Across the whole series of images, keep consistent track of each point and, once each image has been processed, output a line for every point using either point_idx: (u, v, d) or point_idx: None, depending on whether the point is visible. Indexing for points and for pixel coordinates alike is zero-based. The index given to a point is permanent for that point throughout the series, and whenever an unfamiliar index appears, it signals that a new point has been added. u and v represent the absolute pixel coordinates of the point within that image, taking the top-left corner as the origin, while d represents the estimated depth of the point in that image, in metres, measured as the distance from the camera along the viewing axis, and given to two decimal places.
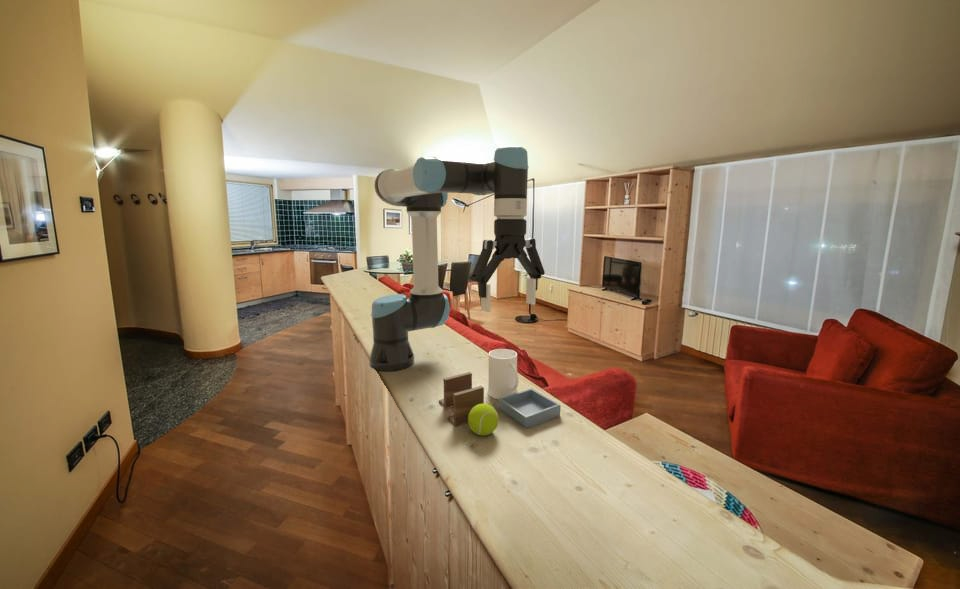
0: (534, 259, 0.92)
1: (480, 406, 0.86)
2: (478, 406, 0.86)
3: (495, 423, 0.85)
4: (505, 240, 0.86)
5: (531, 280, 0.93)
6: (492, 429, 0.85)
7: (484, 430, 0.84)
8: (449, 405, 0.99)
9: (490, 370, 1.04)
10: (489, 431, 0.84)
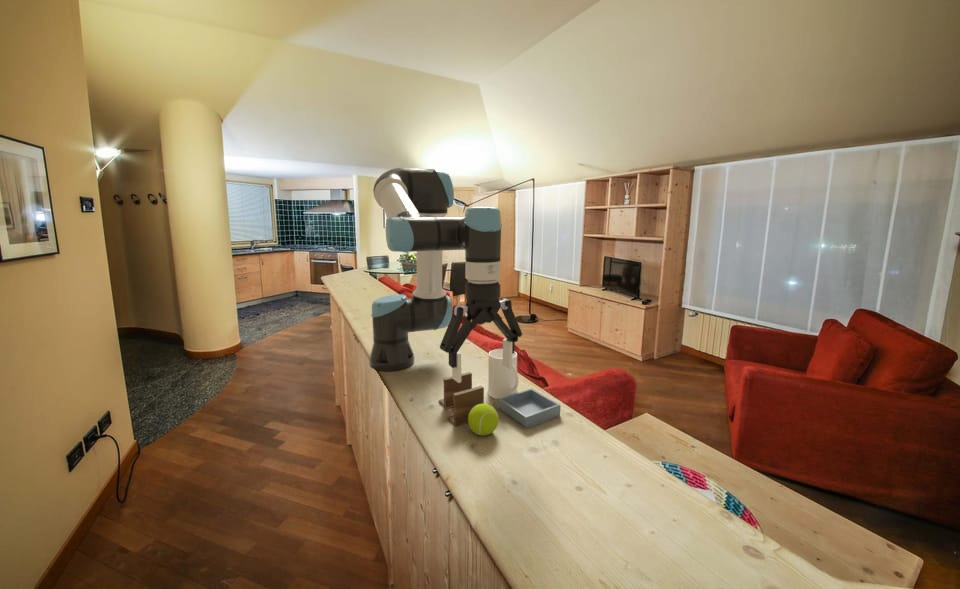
0: (510, 321, 0.86)
1: (480, 406, 0.86)
2: (478, 406, 0.86)
3: (495, 423, 0.85)
4: (477, 305, 0.79)
5: (507, 343, 0.86)
6: (492, 429, 0.85)
7: (484, 430, 0.84)
8: (449, 405, 0.99)
9: (490, 370, 1.04)
10: (489, 431, 0.84)
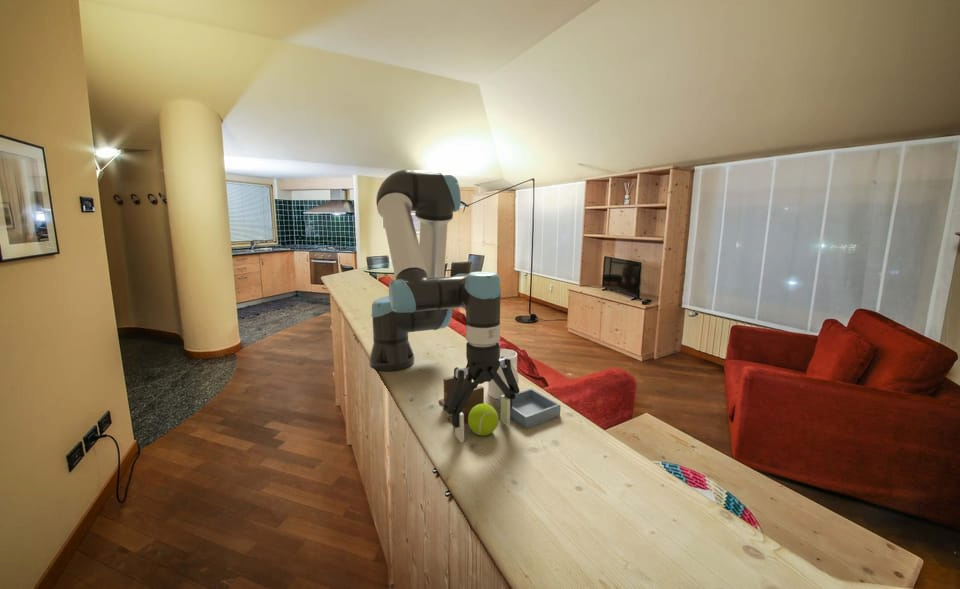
0: (509, 378, 0.88)
1: (480, 406, 0.86)
2: (478, 406, 0.86)
3: (495, 423, 0.85)
4: (477, 366, 0.82)
5: (505, 400, 0.89)
6: (492, 429, 0.85)
7: (484, 430, 0.84)
8: None
9: None
10: (489, 431, 0.84)
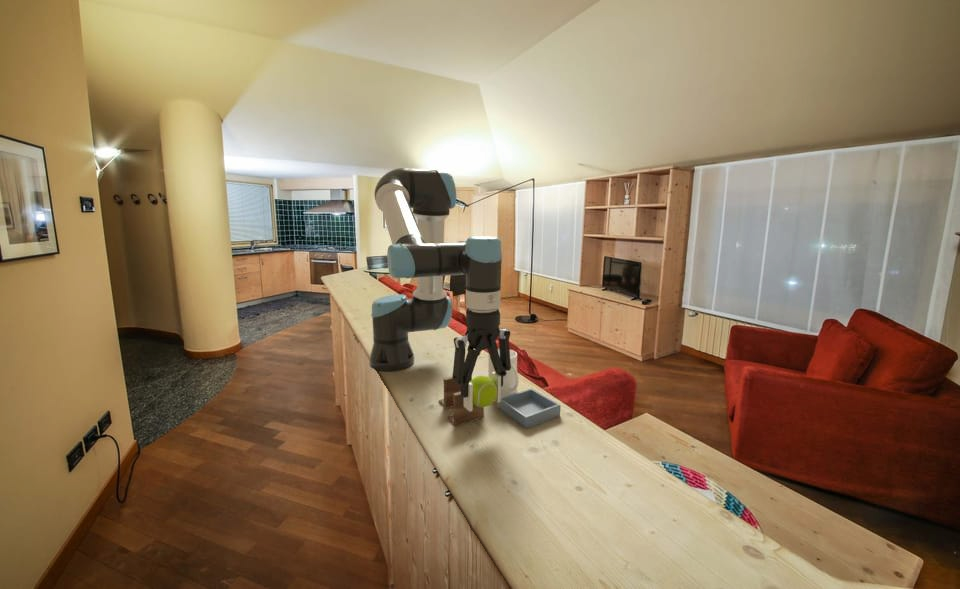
0: (504, 352, 0.86)
1: (479, 378, 0.85)
2: (477, 378, 0.85)
3: (494, 395, 0.84)
4: (476, 332, 0.80)
5: (496, 377, 0.87)
6: (491, 401, 0.84)
7: (483, 402, 0.83)
8: (449, 405, 0.99)
9: (490, 370, 1.04)
10: (488, 403, 0.84)
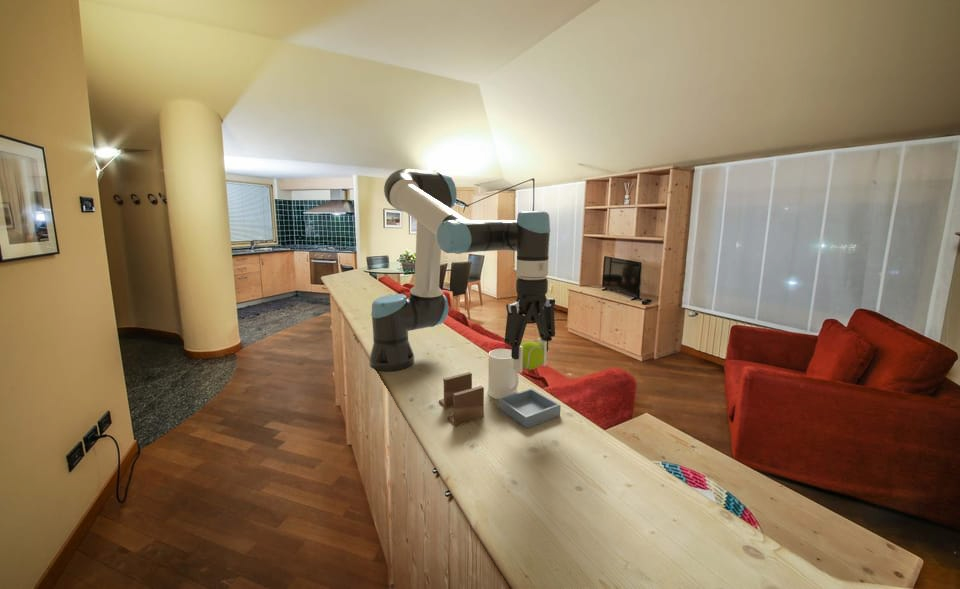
0: (549, 319, 0.94)
1: (528, 342, 0.92)
2: (525, 342, 0.93)
3: (542, 357, 0.92)
4: (526, 298, 0.88)
5: (542, 342, 0.94)
6: (539, 363, 0.91)
7: (532, 363, 0.90)
8: (449, 405, 0.99)
9: (490, 370, 1.04)
10: (536, 364, 0.91)
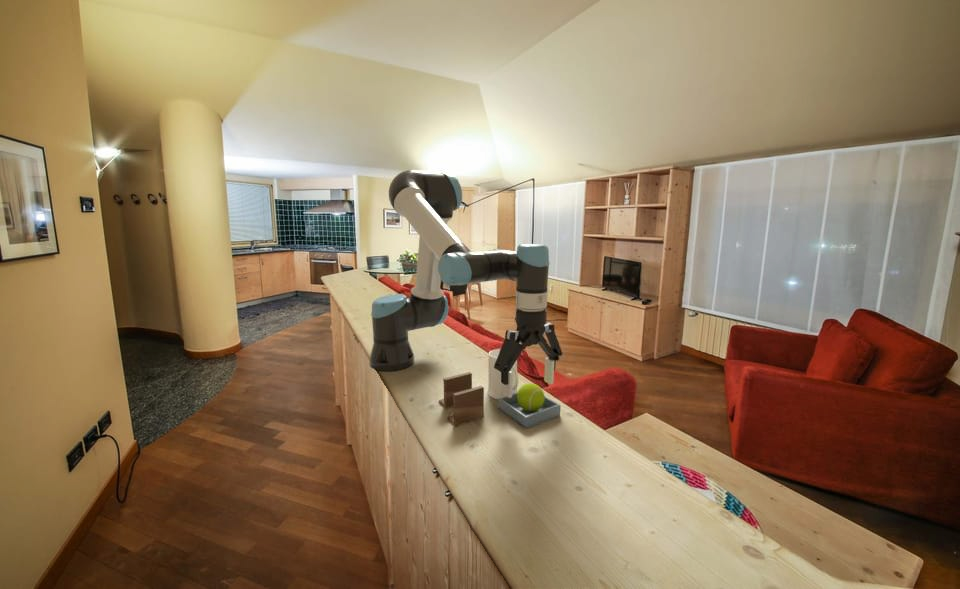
0: (553, 342, 0.96)
1: (529, 385, 0.95)
2: (527, 385, 0.95)
3: (543, 400, 0.94)
4: (526, 330, 0.90)
5: (549, 361, 0.97)
6: (540, 405, 0.94)
7: (534, 406, 0.93)
8: (449, 405, 0.99)
9: (490, 370, 1.04)
10: (538, 407, 0.94)
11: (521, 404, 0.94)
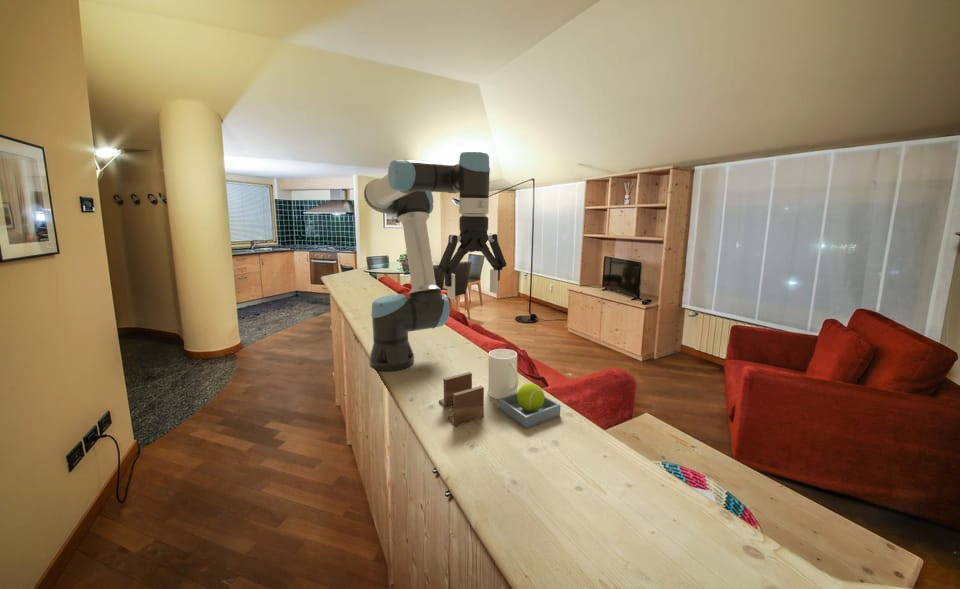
0: (496, 252, 1.02)
1: (529, 385, 0.95)
2: (526, 385, 0.95)
3: (543, 400, 0.94)
4: (469, 235, 0.96)
5: (494, 271, 1.03)
6: (540, 405, 0.94)
7: (534, 406, 0.93)
8: (449, 405, 0.99)
9: (490, 370, 1.04)
10: (538, 407, 0.94)
11: (521, 404, 0.94)
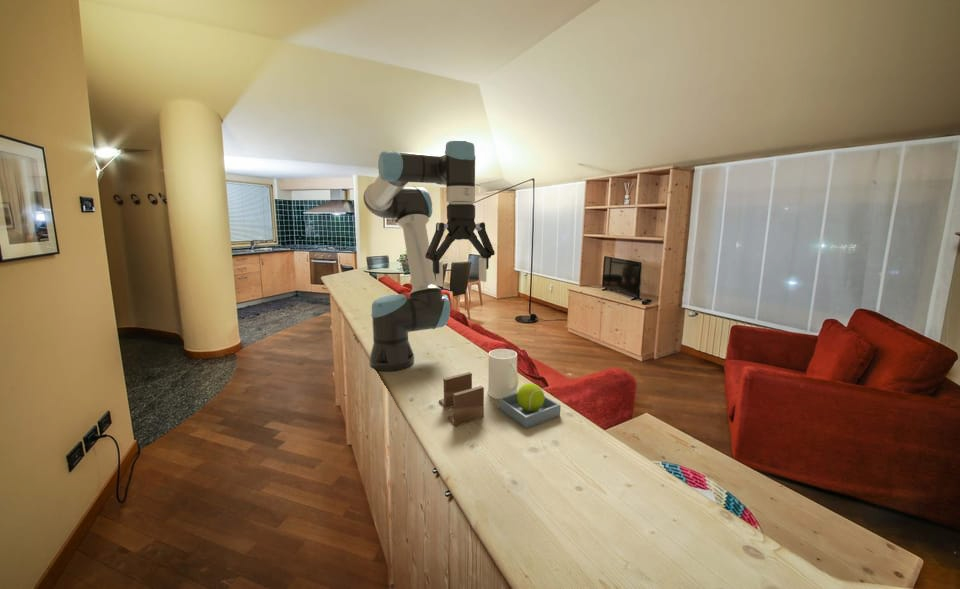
0: (484, 241, 1.04)
1: (529, 385, 0.95)
2: (526, 385, 0.95)
3: (543, 400, 0.94)
4: (456, 223, 0.97)
5: (482, 260, 1.04)
6: (540, 405, 0.94)
7: (534, 406, 0.93)
8: (449, 405, 0.99)
9: (490, 370, 1.04)
10: (538, 407, 0.94)
11: (521, 404, 0.94)
